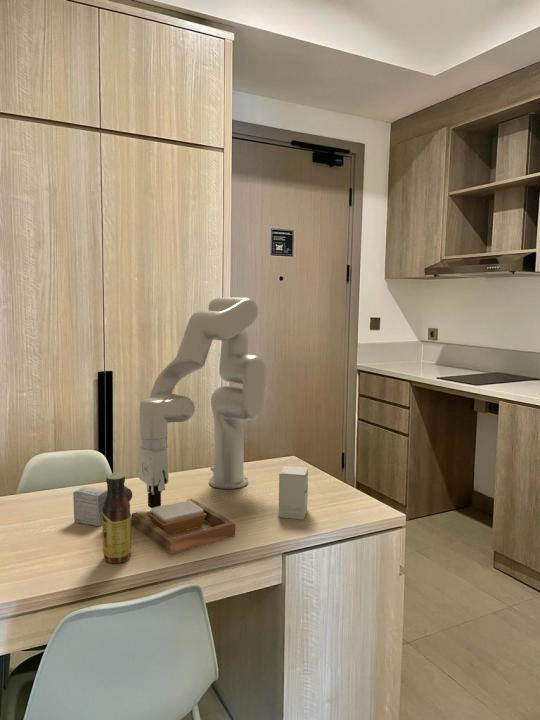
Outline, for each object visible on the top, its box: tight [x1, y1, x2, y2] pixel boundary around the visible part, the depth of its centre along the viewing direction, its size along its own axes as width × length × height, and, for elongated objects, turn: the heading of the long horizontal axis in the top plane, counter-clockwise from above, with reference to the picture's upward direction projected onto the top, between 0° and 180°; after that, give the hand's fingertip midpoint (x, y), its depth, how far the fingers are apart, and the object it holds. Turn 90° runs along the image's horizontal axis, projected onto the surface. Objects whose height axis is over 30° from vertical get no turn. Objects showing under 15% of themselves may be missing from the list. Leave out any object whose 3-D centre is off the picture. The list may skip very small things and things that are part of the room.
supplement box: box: [277, 465, 309, 520], centre depth 154 cm, size 7×7×13 cm
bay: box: [124, 485, 236, 555], centre depth 142 cm, size 25×23×11 cm
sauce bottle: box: [101, 472, 132, 564], centre depth 126 cm, size 6×6×20 cm
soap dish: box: [147, 500, 207, 536], centre depth 145 cm, size 12×10×5 cm
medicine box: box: [72, 486, 107, 527], centre depth 147 cm, size 8×4×9 cm, turn 71°
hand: (154, 506), depth 155 cm, fingers closed
